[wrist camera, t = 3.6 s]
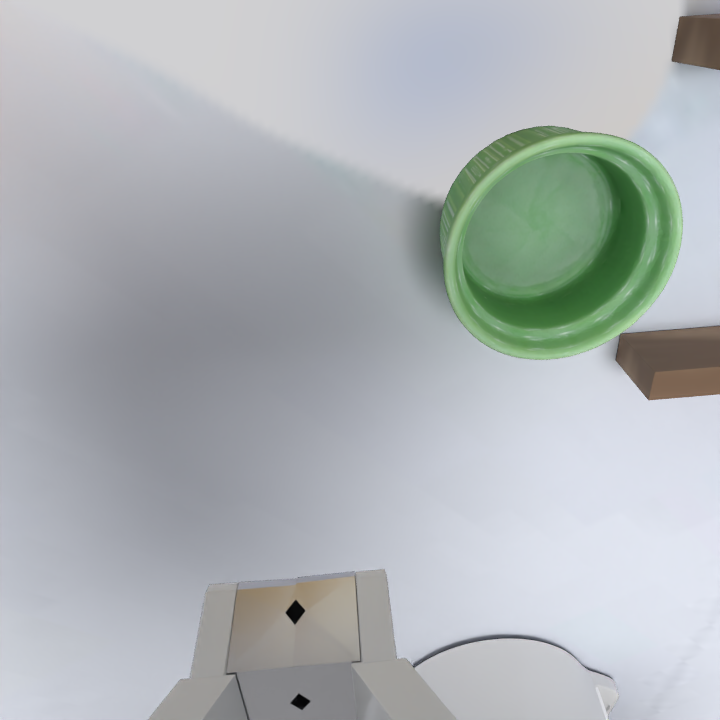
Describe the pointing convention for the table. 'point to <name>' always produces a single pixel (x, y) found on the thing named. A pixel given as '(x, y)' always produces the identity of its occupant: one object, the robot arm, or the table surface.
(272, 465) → the table surface
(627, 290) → the ramekin
